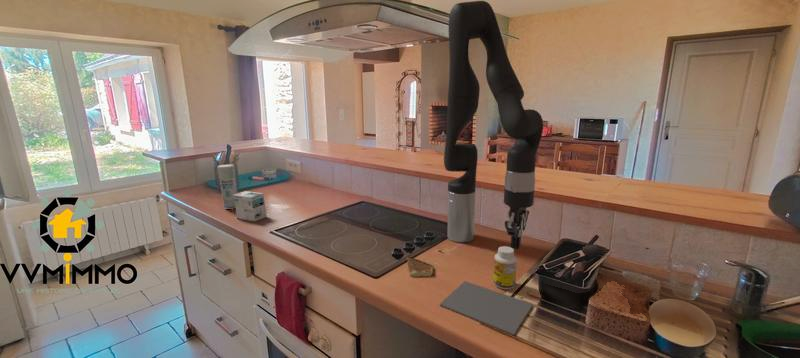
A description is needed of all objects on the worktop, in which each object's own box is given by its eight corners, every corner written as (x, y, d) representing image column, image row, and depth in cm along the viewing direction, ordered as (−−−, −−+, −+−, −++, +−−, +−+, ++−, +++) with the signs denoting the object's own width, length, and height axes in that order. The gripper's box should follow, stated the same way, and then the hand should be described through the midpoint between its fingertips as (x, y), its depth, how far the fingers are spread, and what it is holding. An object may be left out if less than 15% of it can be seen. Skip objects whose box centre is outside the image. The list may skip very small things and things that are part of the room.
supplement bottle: (491, 279, 94) (492, 244, 91) (511, 279, 94) (513, 244, 91) (496, 290, 89) (498, 254, 86) (518, 290, 88) (520, 254, 86)
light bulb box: (267, 217, 147) (264, 192, 144) (254, 222, 141) (251, 197, 138) (249, 213, 151) (245, 190, 148) (236, 218, 145) (232, 194, 143)
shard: (407, 260, 107) (406, 255, 106) (431, 259, 107) (431, 254, 107) (408, 278, 96) (408, 272, 96) (435, 277, 96) (435, 271, 96)
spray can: (239, 204, 164) (234, 163, 159) (238, 208, 158) (232, 166, 153) (224, 206, 162) (218, 165, 157) (223, 210, 156) (216, 167, 151)
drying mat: (464, 282, 93) (464, 281, 93) (532, 305, 82) (533, 304, 82) (439, 305, 83) (439, 304, 83) (513, 335, 72) (513, 334, 72)
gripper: (513, 180, 98) (510, 236, 102) (495, 190, 87) (492, 253, 91) (541, 183, 93) (536, 242, 97) (525, 195, 83) (521, 260, 87)
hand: (515, 247), depth 94 cm, fingers closed
